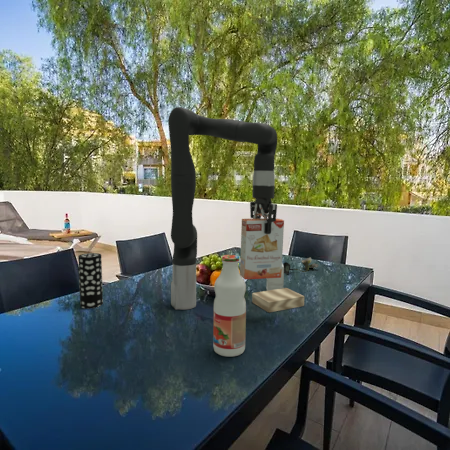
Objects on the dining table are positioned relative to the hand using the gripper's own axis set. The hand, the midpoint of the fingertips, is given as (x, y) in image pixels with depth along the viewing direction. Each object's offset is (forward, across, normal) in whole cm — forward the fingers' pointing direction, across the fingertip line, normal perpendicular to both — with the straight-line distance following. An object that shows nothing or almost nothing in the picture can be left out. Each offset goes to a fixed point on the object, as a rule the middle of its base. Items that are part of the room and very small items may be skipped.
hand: (262, 232), depth 119 cm
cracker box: (+16, 0, 0) cm, 16 cm away
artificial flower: (+32, -48, +56) cm, 80 cm away
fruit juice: (+32, +16, -20) cm, 41 cm away
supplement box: (+32, -24, +22) cm, 45 cm away
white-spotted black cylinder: (+32, -39, -54) cm, 74 cm away
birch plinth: (+32, -10, +14) cm, 36 cm away
